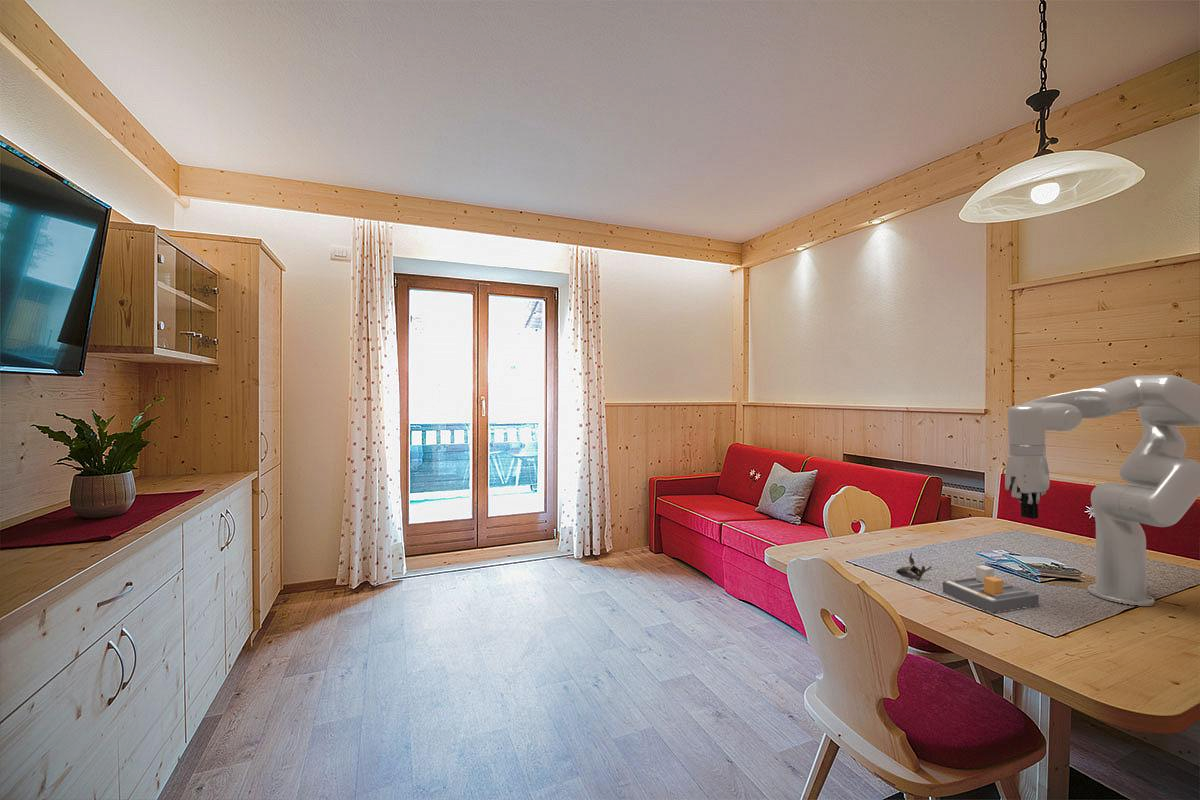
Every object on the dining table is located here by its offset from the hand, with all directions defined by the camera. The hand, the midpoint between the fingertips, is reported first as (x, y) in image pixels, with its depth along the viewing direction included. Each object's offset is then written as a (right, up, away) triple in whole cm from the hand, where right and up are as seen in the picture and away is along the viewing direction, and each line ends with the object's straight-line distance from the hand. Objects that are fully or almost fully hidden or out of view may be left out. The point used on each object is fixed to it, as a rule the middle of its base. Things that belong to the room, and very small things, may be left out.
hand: (1029, 517), depth 133 cm
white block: (-7, -20, +7) cm, 22 cm away
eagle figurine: (-19, -24, +20) cm, 37 cm away
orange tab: (-11, -20, -1) cm, 23 cm away
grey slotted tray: (-9, -23, +3) cm, 25 cm away
